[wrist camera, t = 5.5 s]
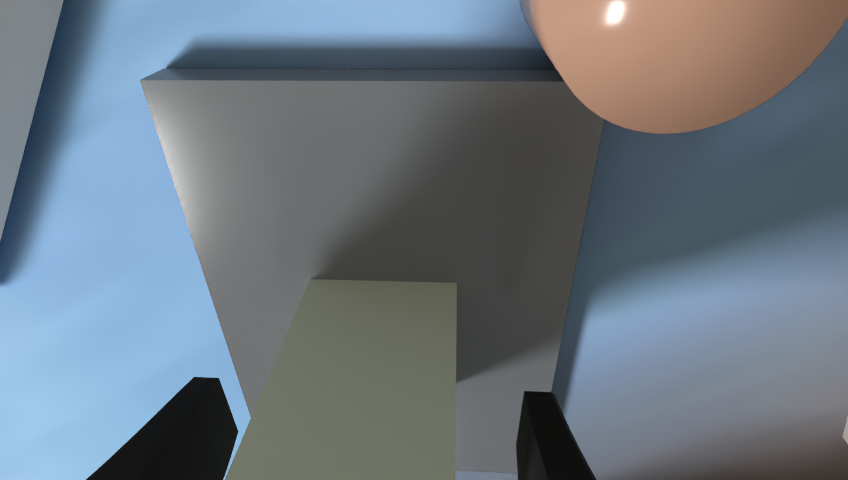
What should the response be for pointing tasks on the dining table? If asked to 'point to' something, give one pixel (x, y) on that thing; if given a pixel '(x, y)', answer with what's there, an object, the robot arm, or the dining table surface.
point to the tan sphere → (680, 54)
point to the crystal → (21, 80)
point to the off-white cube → (846, 432)
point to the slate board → (389, 210)
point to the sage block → (359, 387)
